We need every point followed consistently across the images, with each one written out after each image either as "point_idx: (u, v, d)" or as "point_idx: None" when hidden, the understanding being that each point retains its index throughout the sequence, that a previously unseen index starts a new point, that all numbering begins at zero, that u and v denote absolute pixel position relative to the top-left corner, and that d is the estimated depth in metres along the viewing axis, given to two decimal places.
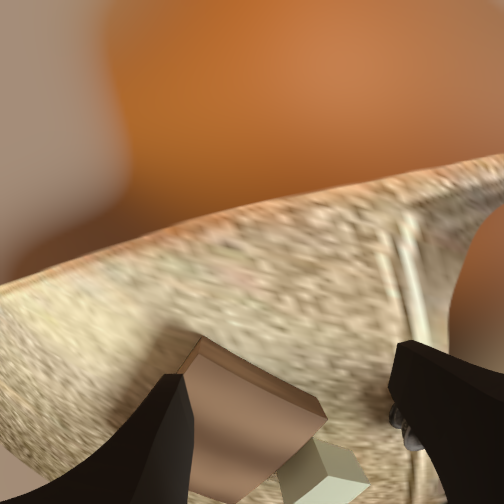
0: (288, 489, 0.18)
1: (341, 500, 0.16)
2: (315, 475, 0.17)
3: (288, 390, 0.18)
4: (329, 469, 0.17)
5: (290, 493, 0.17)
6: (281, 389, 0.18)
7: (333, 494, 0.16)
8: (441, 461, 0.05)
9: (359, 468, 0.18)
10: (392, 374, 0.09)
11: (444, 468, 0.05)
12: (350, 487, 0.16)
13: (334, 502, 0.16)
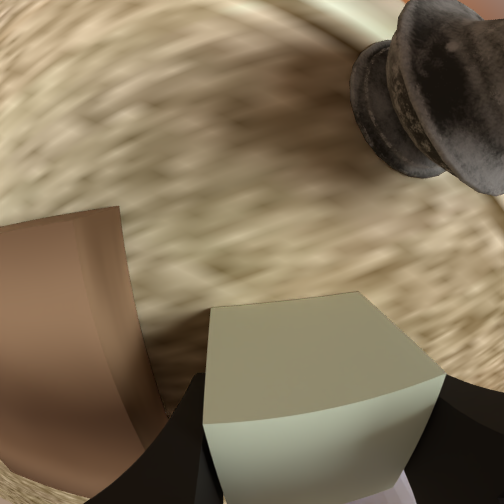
0: None
1: (383, 457, 0.05)
2: None
3: (21, 224, 0.07)
4: (228, 390, 0.05)
5: None
6: (0, 229, 0.06)
7: (326, 462, 0.05)
8: (414, 474, 0.05)
9: (389, 332, 0.07)
10: None
11: (416, 482, 0.05)
12: (370, 422, 0.05)
13: (363, 470, 0.05)
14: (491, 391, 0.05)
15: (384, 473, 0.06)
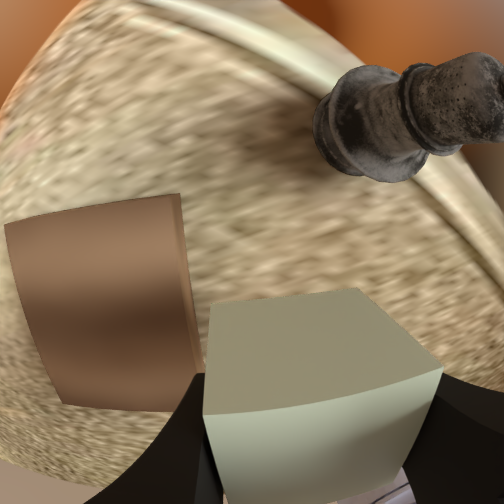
0: None
1: (381, 451, 0.05)
2: None
3: (117, 202, 0.14)
4: (228, 382, 0.05)
5: None
6: (103, 204, 0.13)
7: (326, 455, 0.05)
8: (414, 474, 0.05)
9: (388, 327, 0.07)
10: None
11: (416, 482, 0.05)
12: (368, 414, 0.05)
13: (362, 464, 0.06)
14: (491, 390, 0.05)
15: (383, 468, 0.06)
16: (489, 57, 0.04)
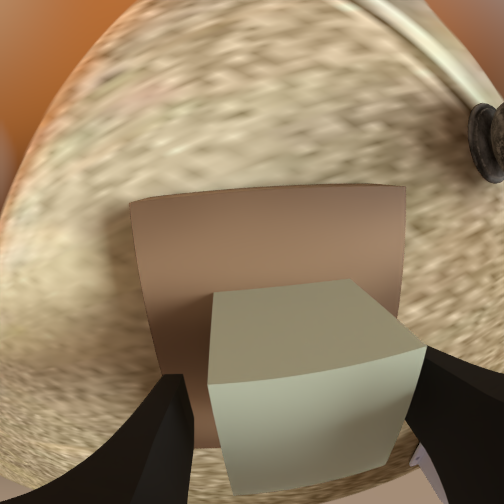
0: None
1: (372, 428, 0.06)
2: None
3: (317, 185, 0.11)
4: (230, 357, 0.06)
5: None
6: (303, 186, 0.11)
7: (319, 429, 0.06)
8: (441, 461, 0.05)
9: (376, 312, 0.08)
10: None
11: (444, 468, 0.05)
12: (357, 388, 0.06)
13: (354, 441, 0.06)
14: None
15: (375, 447, 0.07)
16: None
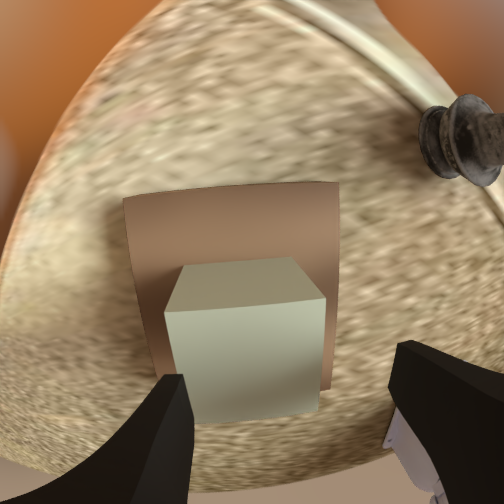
0: None
1: (293, 367, 0.09)
2: None
3: None
4: (182, 299, 0.09)
5: None
6: None
7: (246, 359, 0.09)
8: (441, 461, 0.05)
9: (298, 277, 0.11)
10: (392, 374, 0.09)
11: (444, 468, 0.05)
12: (270, 325, 0.09)
13: (280, 377, 0.10)
14: None
15: (301, 388, 0.10)
16: None
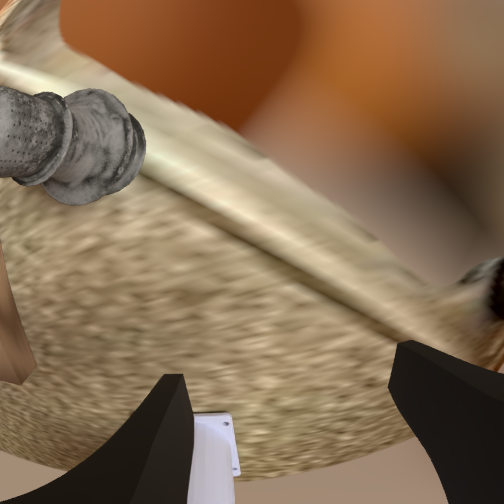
0: None
1: None
2: None
3: None
4: None
5: None
6: None
7: None
8: (441, 461, 0.05)
9: None
10: (392, 374, 0.09)
11: (444, 468, 0.05)
12: None
13: None
14: None
15: None
16: None
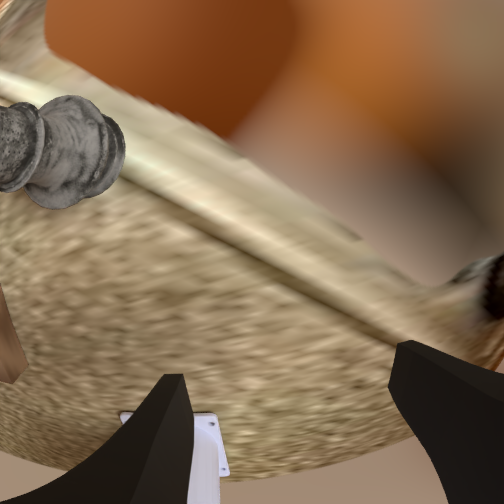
0: None
1: None
2: None
3: None
4: None
5: None
6: None
7: None
8: (441, 461, 0.05)
9: None
10: (392, 374, 0.09)
11: (444, 468, 0.05)
12: None
13: None
14: None
15: None
16: None
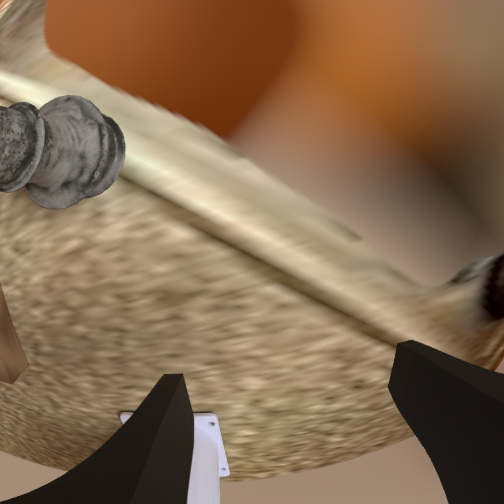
0: None
1: None
2: None
3: None
4: None
5: None
6: None
7: None
8: (441, 461, 0.05)
9: None
10: (392, 374, 0.09)
11: (444, 468, 0.05)
12: None
13: None
14: None
15: None
16: None
